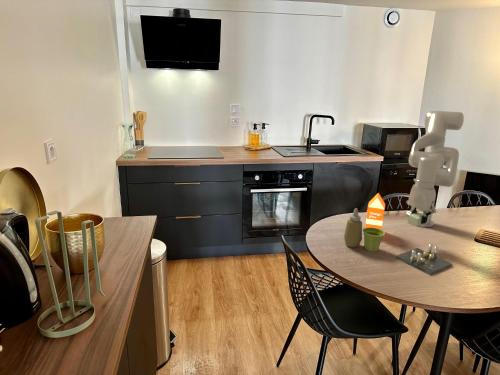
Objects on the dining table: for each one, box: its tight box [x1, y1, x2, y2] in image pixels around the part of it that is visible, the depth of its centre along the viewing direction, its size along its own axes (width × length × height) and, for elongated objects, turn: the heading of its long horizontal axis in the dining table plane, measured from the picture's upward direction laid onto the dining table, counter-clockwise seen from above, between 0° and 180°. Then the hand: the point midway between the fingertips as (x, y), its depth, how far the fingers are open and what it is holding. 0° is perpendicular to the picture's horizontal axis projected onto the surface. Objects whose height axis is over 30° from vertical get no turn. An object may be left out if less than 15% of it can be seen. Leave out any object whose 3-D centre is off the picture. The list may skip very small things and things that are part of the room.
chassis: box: [395, 243, 453, 276], centre depth 146 cm, size 16×15×6 cm
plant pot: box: [362, 227, 386, 252], centre depth 156 cm, size 9×9×9 cm
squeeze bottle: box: [343, 207, 363, 248], centre depth 158 cm, size 8×8×18 cm
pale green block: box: [407, 211, 430, 228], centre depth 159 cm, size 4×9×4 cm, turn 120°
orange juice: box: [364, 192, 386, 230], centre depth 172 cm, size 8×9×20 cm
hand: (418, 220), depth 160 cm, fingers closed on pale green block, 4 cm apart
